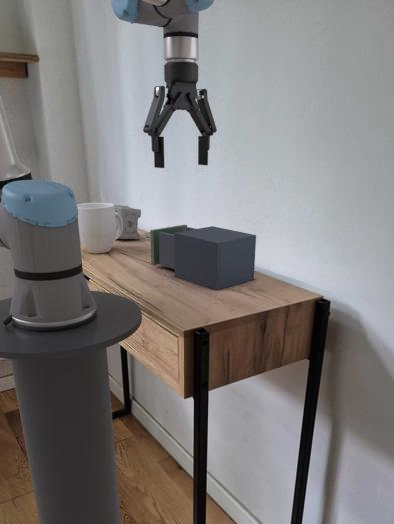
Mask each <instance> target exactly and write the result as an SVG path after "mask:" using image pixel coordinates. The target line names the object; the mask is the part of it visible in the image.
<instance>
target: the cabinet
mask: <svg viewBox="0 0 394 524" xmlns="http://www.w3.org/2000/svg"><path fill="white" fill-rule="evenodd" d="M256 246H257V234H252V233H248V232H243V231H238V230H233V229H227V228H223V227H219V226H213V225H211V226H206V227H199V228H195V229H193V230H188V231H182V232H176V233H174V261H175V269H174V277H175V278H178V279H182V280H184V281H187V282H190V283H193V284H197V285H199V286H203V287H206V288H209V289H211V290H214V291H219V290H222V289H225V288H229V287H232V286H236V285H239V284H243V283H246V282H250V281H253V280H254V279H255V267H256V266H255V265H256V263H255V262H256V249H257V248H256Z"/></svg>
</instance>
